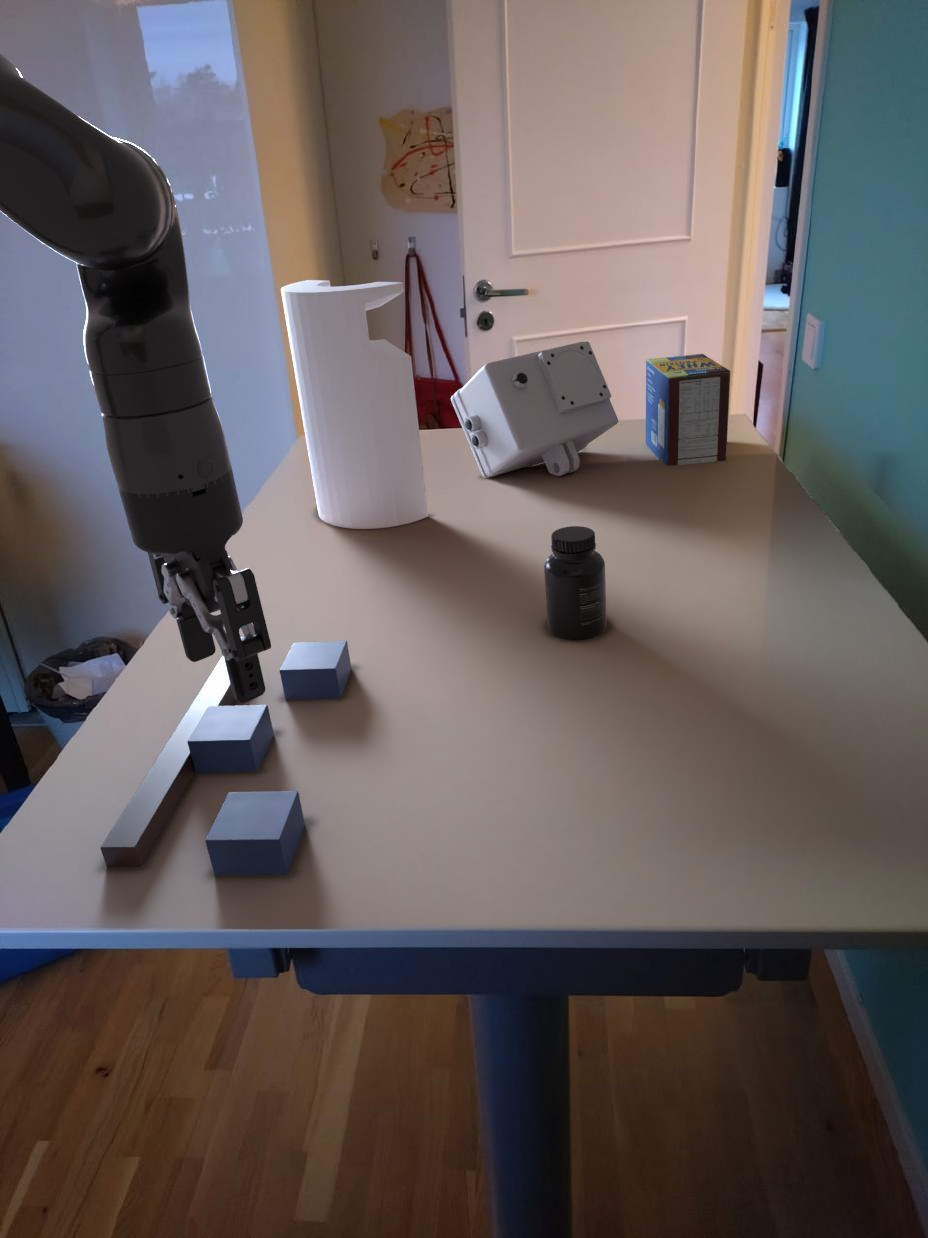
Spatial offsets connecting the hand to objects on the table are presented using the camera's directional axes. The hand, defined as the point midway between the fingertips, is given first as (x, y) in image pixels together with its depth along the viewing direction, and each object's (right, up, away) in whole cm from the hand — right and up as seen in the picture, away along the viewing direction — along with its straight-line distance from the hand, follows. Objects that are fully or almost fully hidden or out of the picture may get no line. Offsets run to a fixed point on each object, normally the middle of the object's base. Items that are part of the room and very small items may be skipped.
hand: (225, 676), depth 68 cm
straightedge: (-8, -9, +19) cm, 23 cm away
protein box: (+57, +34, +91) cm, 113 cm away
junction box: (+31, +31, +91) cm, 102 cm away
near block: (+1, -15, +6) cm, 16 cm away
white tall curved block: (+2, +21, +76) cm, 79 cm away
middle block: (-4, -9, +19) cm, 21 cm away
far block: (+2, -3, +29) cm, 30 cm away
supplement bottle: (+31, +3, +36) cm, 48 cm away
